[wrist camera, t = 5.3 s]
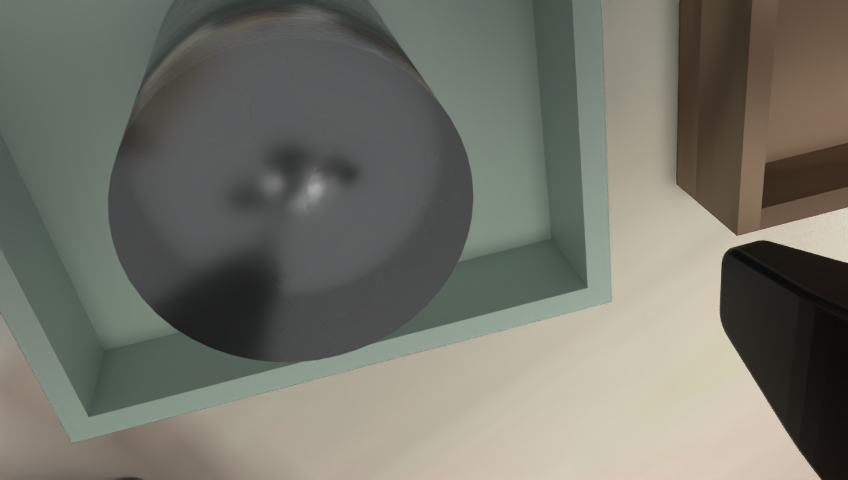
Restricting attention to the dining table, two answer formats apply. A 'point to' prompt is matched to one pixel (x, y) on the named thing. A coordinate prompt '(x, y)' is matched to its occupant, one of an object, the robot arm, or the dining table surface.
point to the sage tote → (240, 377)
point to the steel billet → (286, 179)
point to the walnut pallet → (763, 109)
